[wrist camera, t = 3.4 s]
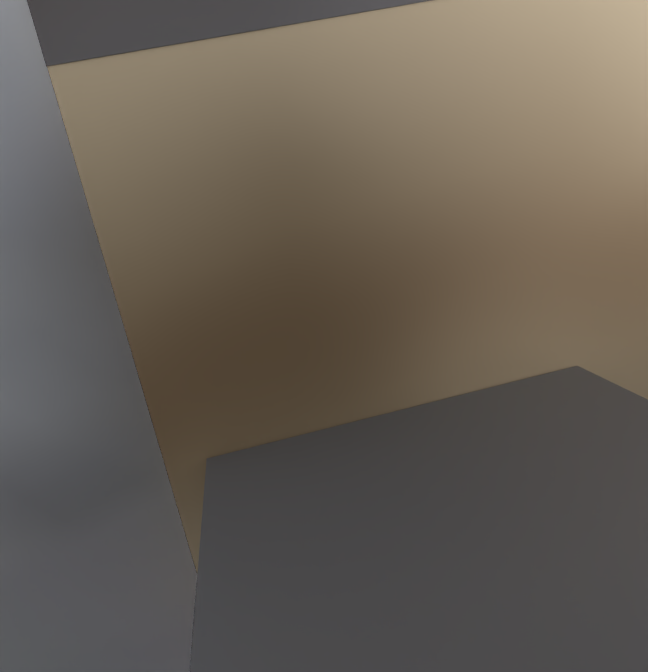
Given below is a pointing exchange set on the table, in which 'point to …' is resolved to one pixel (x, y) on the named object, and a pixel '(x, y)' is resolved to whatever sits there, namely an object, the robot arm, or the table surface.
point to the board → (356, 202)
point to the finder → (435, 539)
